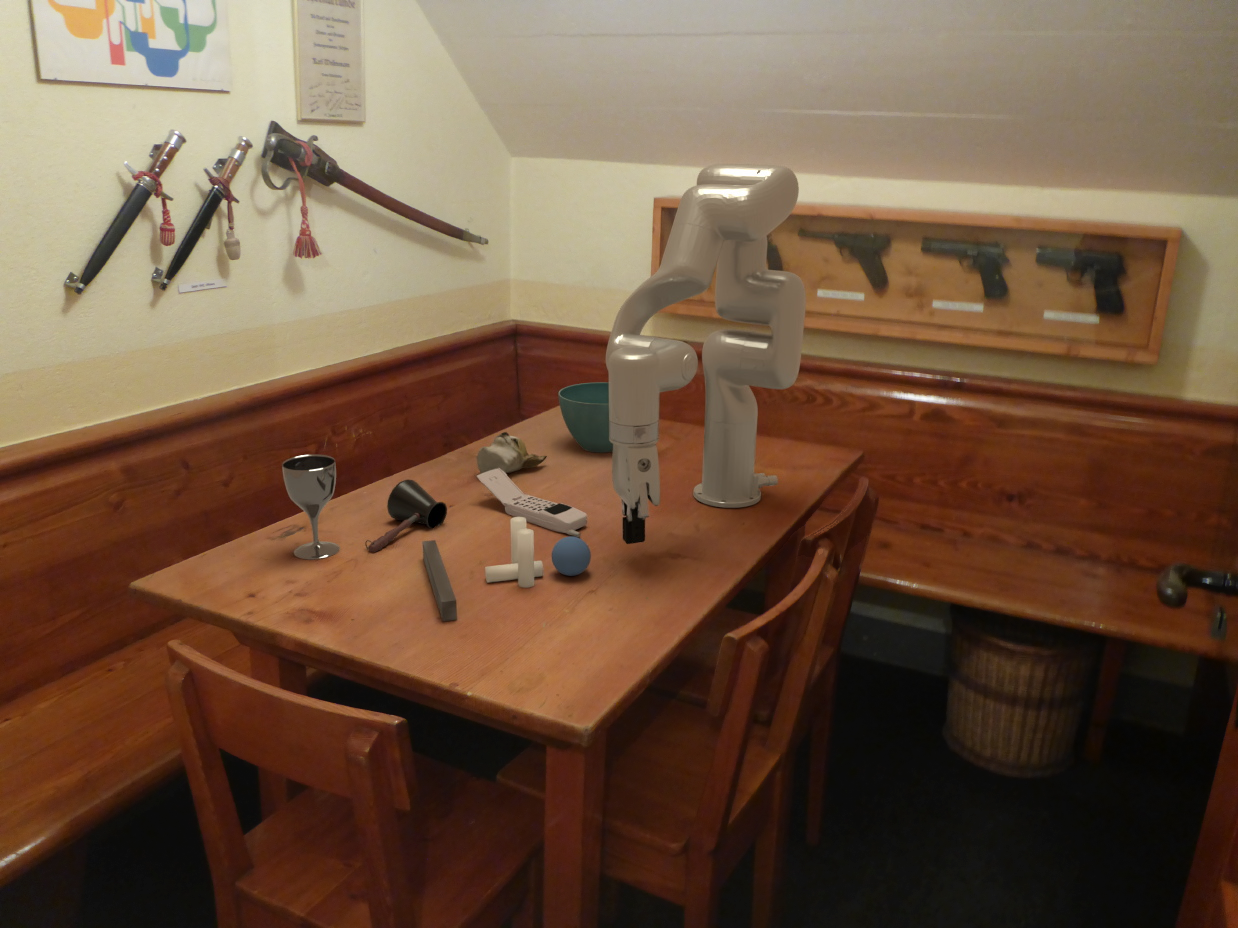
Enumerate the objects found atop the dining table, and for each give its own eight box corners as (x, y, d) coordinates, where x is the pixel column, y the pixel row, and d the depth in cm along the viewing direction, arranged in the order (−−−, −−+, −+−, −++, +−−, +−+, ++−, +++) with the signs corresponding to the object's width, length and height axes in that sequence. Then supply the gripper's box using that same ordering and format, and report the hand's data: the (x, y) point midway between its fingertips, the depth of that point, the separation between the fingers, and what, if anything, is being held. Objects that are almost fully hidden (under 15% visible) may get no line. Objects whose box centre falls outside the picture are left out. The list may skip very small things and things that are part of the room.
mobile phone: (497, 466, 181) (598, 498, 166) (499, 496, 183) (598, 530, 168) (473, 475, 177) (574, 508, 161) (474, 505, 179) (574, 541, 163)
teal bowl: (612, 465, 200) (613, 408, 196) (541, 450, 209) (541, 394, 206) (658, 444, 215) (659, 390, 211) (590, 430, 224) (590, 378, 220)
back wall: (436, 557, 156) (435, 540, 155) (457, 619, 136) (456, 600, 135) (423, 558, 155) (422, 541, 154) (442, 621, 135) (441, 602, 134)
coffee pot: (417, 507, 175) (452, 524, 171) (340, 551, 162) (376, 571, 158) (416, 471, 172) (451, 488, 168) (337, 514, 159) (373, 532, 155)
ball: (538, 548, 150) (563, 569, 154) (550, 569, 145) (575, 590, 149) (567, 522, 150) (590, 543, 153) (579, 541, 145) (603, 563, 149)
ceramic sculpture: (461, 434, 190) (508, 421, 202) (461, 477, 192) (507, 461, 204) (505, 443, 185) (550, 429, 197) (504, 487, 187) (549, 470, 199)
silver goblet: (314, 564, 152) (306, 473, 148) (280, 553, 156) (271, 464, 152) (352, 547, 159) (346, 460, 154) (319, 537, 163) (311, 451, 158)
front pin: (539, 558, 150) (484, 564, 148) (543, 563, 148) (487, 569, 146) (540, 572, 151) (485, 579, 149) (543, 578, 149) (488, 584, 146)
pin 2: (532, 579, 148) (531, 527, 146) (536, 586, 146) (535, 533, 143) (516, 581, 148) (515, 529, 145) (520, 588, 145) (519, 535, 143)
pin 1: (525, 566, 153) (524, 516, 150) (528, 572, 151) (527, 521, 148) (510, 568, 152) (508, 517, 149) (513, 574, 150) (512, 523, 147)
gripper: (674, 443, 142) (672, 557, 148) (641, 414, 155) (641, 520, 161) (625, 448, 140) (625, 564, 146) (596, 418, 153) (597, 525, 159)
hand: (633, 540), depth 154 cm, fingers closed
